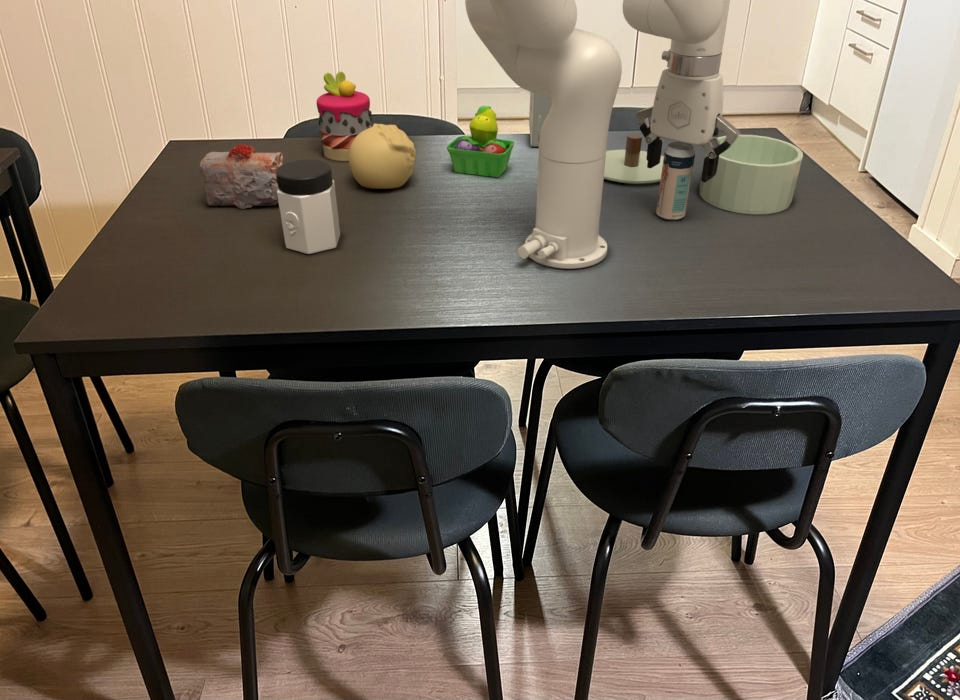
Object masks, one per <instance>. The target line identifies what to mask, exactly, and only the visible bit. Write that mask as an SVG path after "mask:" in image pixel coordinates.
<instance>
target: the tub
mask: <svg viewBox="0 0 960 700" xmlns="http://www.w3.org/2000/svg"><path fill="white" fill-rule="evenodd" d="M717 138H718V140H719V142H720V144H722V143H723V142H724V140H725V139H726V135H722V136H718V137H717ZM704 153H705V154H704V159H705V158H706V157H707V156H708V155H707V153H706V152H704ZM803 157H804V153H803V151H802V150H801V149H800V148H799V147H798V146H796V145H794V144H793V143H790V142H787V141H785V140H781V139H778V138H774V137H770V136H764V135H757V134H756V135H755V134H740V136H739V137H738V138H737V140H736V141H735V142H734V143H733V145H732V146H731V147H730V148H729V149H727V150H726V151H724V152H723V153H722V154H720V155H719V161H718V167H717V172H716V175H715V176H714V177H713V178H711V179H710V180H708V181H707V182H702V181H701V180H700V183H699V189H698V190H699V191H698V192H699V196H700V198H701V199H702V200H703V201H705V203H708V204H709V205H711V206H712V207H713V206H714V207H715V208H718V209H721V210H724V211H728V212H732V213H736V214H737V213H738V214H745V215H770V214H777V213H780V212H783V211H785V210H787V209H788V208H789V207H790V206H791V204H792V201H793V198H794V193H795V190H796V186H797V181H798V177H799V174H800V169H801V165H802V161H803Z"/></svg>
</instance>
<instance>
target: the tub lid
mask: <svg viewBox="0 0 960 700" xmlns="http://www.w3.org/2000/svg"><path fill="white" fill-rule="evenodd" d="M642 141H643V134H639V133H628V134H627V135H626V141H625V149H612V150H611V149H610V150H606V160H605V170H604V180H608V181H612V182H617V183H624V184H637V185H638V184H639V185H640V184H653V183H658V182H659V183H660V181H661V174H662V167H663V160H664V155H661V159H660V163H659V164H658V165H656V166H654V167H653V168H647V163H648V161H647V159H646V158H647V150H646V151H645V150H642V143H643V142H642Z"/></svg>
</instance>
